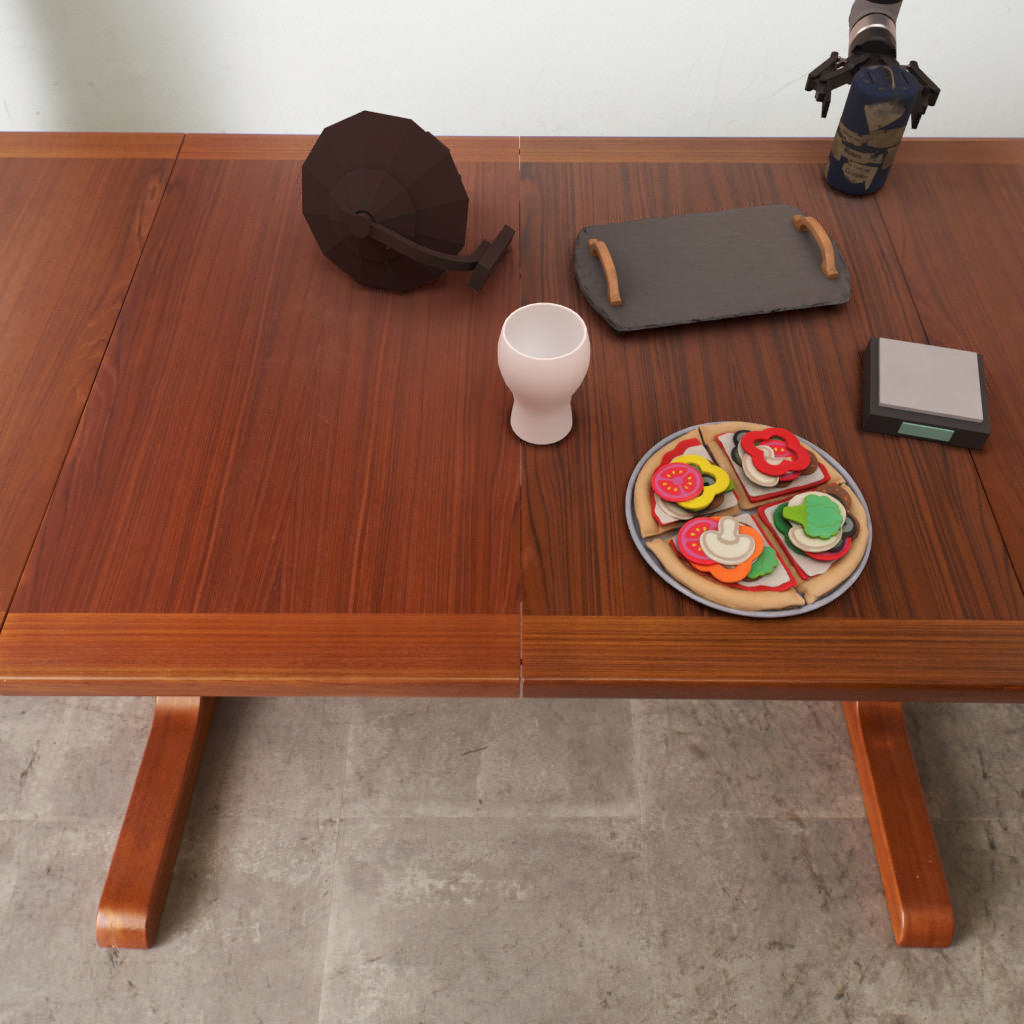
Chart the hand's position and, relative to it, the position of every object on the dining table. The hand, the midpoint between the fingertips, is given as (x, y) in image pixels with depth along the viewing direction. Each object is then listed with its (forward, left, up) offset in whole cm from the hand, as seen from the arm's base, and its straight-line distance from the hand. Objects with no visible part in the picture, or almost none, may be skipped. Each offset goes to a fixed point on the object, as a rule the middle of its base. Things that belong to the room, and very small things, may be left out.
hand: (871, 115), depth 138 cm
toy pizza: (+11, +75, -10) cm, 76 cm away
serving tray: (+20, +33, -10) cm, 39 cm away
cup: (+37, +66, -10) cm, 76 cm away
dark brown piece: (+61, +38, -10) cm, 72 cm away
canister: (0, +4, -10) cm, 10 cm away
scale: (-9, +51, -9) cm, 52 cm away
